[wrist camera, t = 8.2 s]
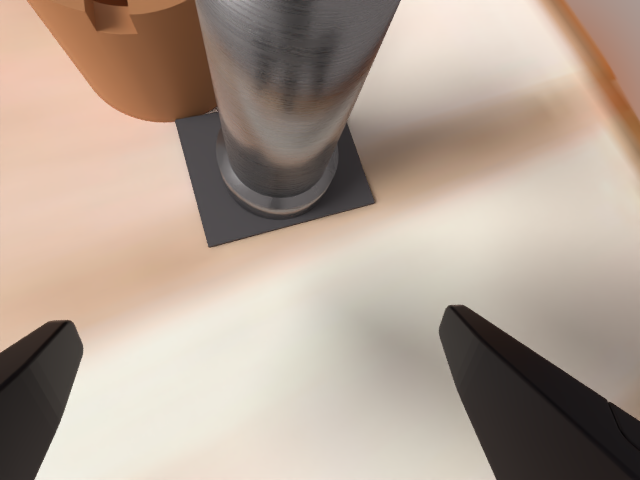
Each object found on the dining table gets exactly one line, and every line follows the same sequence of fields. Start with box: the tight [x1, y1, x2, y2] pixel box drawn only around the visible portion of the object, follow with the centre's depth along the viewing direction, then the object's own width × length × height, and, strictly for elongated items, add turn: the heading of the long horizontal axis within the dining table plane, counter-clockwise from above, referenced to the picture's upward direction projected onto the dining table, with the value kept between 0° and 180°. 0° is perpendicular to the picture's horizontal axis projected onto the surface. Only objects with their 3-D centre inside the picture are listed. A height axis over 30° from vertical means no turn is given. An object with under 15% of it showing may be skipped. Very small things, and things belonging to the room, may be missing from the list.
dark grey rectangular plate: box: [175, 112, 375, 247], centre depth 18 cm, size 7×9×1 cm
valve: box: [195, 0, 401, 220], centre depth 11 cm, size 6×6×15 cm
